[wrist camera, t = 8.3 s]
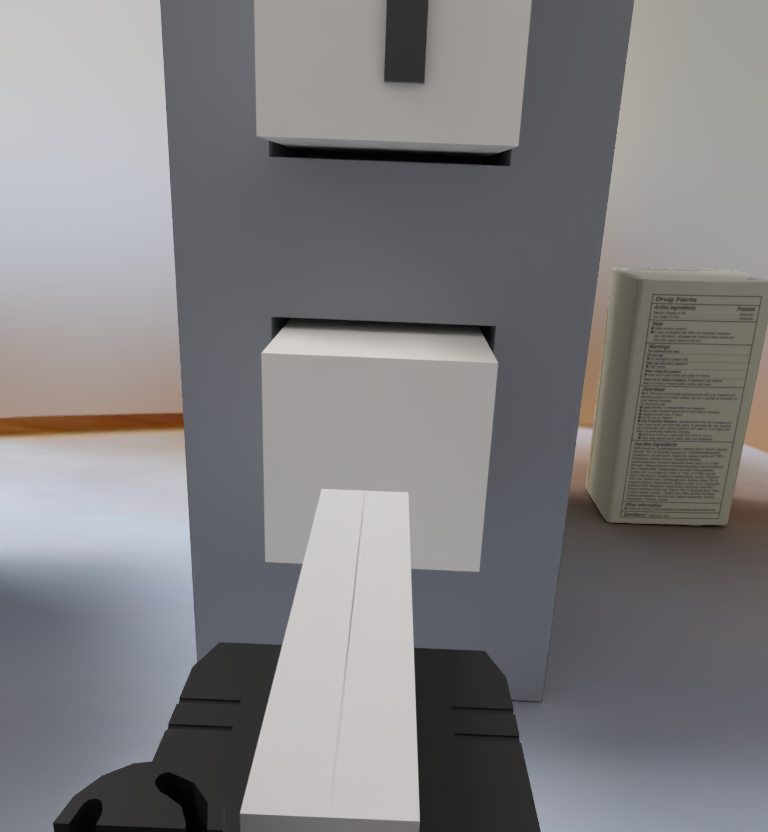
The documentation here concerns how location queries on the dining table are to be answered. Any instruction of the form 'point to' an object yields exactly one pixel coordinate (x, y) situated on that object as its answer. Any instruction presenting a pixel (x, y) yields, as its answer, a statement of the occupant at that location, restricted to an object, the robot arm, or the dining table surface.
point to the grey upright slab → (391, 307)
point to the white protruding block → (391, 75)
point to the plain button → (379, 430)
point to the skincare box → (675, 394)
